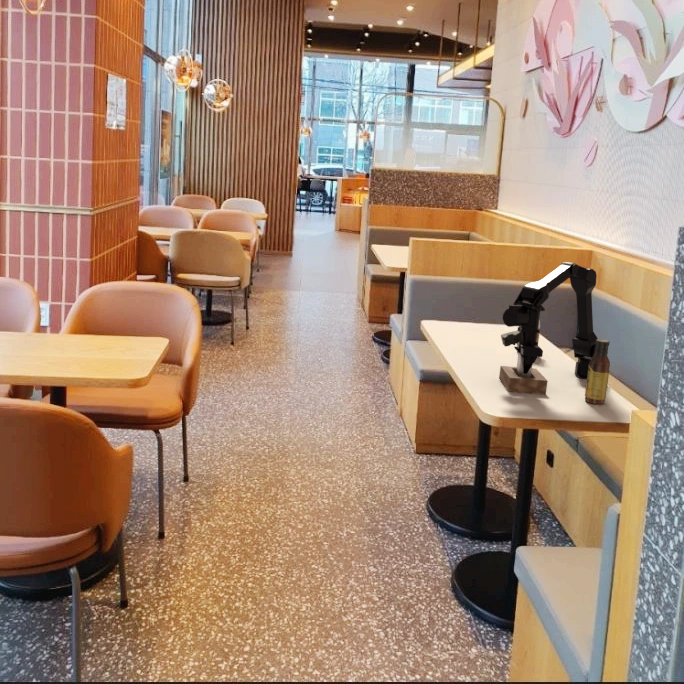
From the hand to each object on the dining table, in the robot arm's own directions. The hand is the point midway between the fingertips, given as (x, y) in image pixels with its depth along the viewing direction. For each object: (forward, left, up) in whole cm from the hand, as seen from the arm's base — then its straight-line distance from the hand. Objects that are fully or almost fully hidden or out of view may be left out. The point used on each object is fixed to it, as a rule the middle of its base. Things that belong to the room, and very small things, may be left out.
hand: (523, 371), depth 273 cm
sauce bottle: (-20, +13, -5) cm, 24 cm away
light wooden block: (0, 0, -3) cm, 3 cm away
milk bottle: (-13, -53, -5) cm, 55 cm away
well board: (0, 0, -5) cm, 5 cm away
